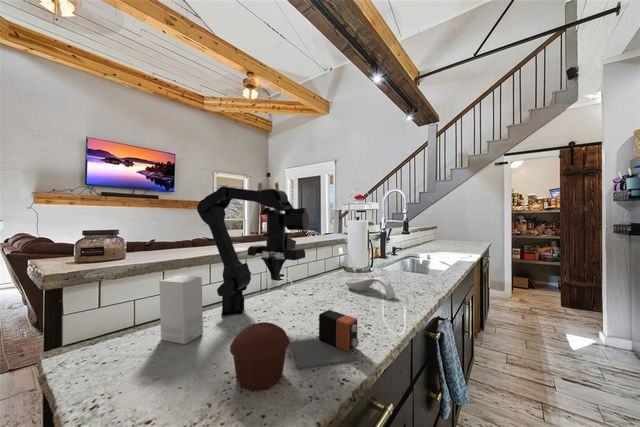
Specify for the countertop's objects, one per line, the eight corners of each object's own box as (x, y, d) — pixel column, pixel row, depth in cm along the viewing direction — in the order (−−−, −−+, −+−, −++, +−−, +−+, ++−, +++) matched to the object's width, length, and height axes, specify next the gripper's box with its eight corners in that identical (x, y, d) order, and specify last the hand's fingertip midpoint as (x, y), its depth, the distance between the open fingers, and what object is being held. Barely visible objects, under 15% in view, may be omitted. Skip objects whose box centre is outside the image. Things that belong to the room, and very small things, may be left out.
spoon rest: (339, 288, 113) (339, 272, 113) (357, 284, 120) (357, 268, 120) (383, 303, 95) (383, 283, 95) (401, 296, 102) (401, 278, 102)
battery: (317, 340, 65) (351, 354, 58) (318, 313, 65) (351, 325, 58) (328, 334, 68) (361, 347, 61) (328, 308, 68) (361, 319, 61)
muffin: (237, 406, 43) (237, 346, 43) (223, 371, 52) (223, 322, 53) (299, 381, 49) (300, 330, 49) (277, 354, 59) (277, 311, 59)
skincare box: (203, 334, 68) (204, 276, 69) (183, 346, 62) (183, 282, 62) (179, 329, 71) (180, 273, 71) (157, 340, 65) (158, 279, 65)
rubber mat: (299, 369, 53) (299, 367, 53) (290, 343, 64) (290, 341, 64) (356, 360, 57) (356, 357, 57) (339, 337, 67) (339, 335, 67)
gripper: (314, 229, 82) (314, 277, 82) (269, 227, 91) (269, 271, 91) (294, 231, 72) (294, 286, 72) (246, 229, 81) (246, 278, 81)
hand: (275, 279), depth 80 cm, fingers closed
